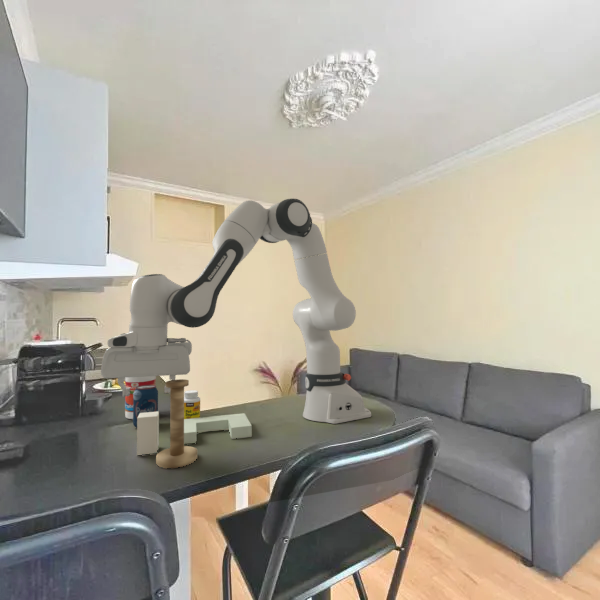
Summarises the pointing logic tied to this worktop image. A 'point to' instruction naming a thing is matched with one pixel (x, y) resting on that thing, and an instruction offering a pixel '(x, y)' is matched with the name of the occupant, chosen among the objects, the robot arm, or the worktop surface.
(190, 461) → the bobbin post
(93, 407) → the worktop surface
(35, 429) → the worktop surface
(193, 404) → the supplement bottle
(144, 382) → the fruit juice
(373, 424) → the worktop surface
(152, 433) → the block
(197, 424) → the notched board
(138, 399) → the soda can
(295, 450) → the worktop surface
